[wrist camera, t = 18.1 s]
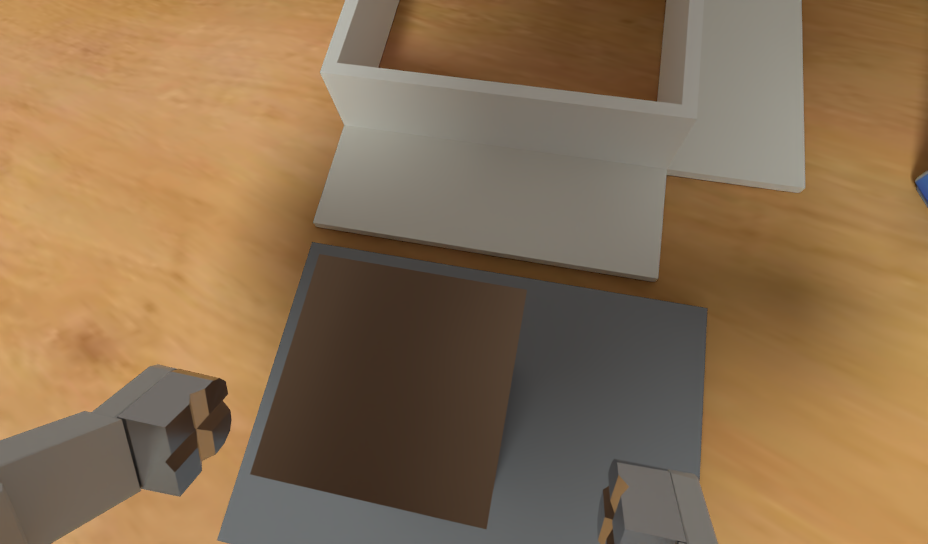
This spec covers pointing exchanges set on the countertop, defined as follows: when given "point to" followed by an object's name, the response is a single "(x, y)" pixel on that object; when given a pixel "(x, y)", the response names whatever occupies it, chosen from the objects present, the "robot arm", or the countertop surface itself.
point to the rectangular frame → (562, 141)
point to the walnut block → (396, 389)
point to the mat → (520, 421)
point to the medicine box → (923, 186)
